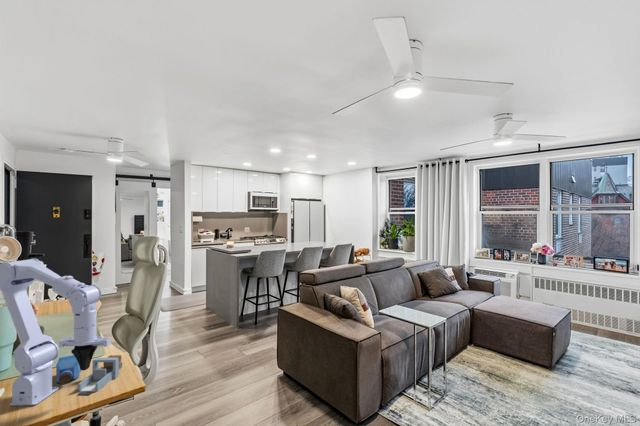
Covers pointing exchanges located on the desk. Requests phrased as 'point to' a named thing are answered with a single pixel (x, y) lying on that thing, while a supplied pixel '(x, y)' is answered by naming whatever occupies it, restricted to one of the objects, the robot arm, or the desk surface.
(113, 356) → the walnut block
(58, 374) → the perfume bottle
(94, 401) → the desk surface
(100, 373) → the sled
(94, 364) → the arch track
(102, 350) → the desk surface
